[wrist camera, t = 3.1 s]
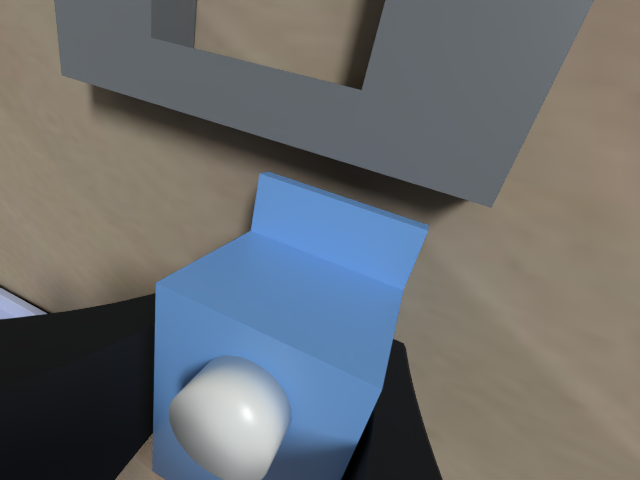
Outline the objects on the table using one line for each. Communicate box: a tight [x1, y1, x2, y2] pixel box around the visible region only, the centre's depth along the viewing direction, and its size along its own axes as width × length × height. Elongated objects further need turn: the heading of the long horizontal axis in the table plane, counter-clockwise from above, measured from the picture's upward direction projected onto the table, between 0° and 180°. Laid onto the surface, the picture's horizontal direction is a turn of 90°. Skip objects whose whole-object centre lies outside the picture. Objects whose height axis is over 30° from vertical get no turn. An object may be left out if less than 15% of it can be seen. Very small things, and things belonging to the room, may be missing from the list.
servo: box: [152, 172, 429, 480], centre depth 8 cm, size 4×8×6 cm, turn 166°
